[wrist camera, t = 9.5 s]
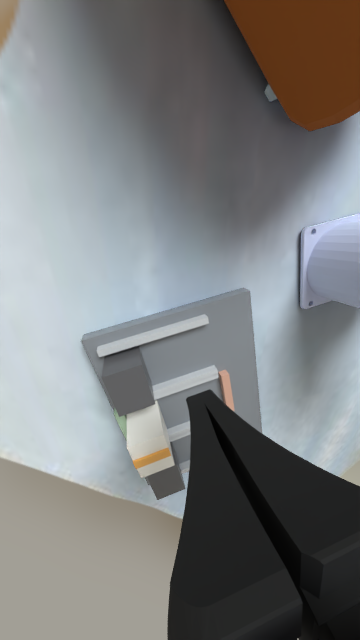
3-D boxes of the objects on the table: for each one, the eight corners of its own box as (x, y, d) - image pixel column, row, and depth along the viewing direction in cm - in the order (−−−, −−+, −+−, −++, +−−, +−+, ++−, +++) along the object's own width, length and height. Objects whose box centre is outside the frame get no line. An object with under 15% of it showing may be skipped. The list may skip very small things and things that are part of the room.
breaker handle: (156, 399, 21) (164, 436, 17) (166, 428, 22) (175, 467, 19) (126, 410, 20) (126, 450, 17) (138, 438, 22) (141, 480, 18)
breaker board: (243, 287, 20) (270, 299, 17) (257, 431, 28) (277, 461, 25) (83, 334, 18) (73, 360, 15) (147, 474, 26) (151, 515, 23)
